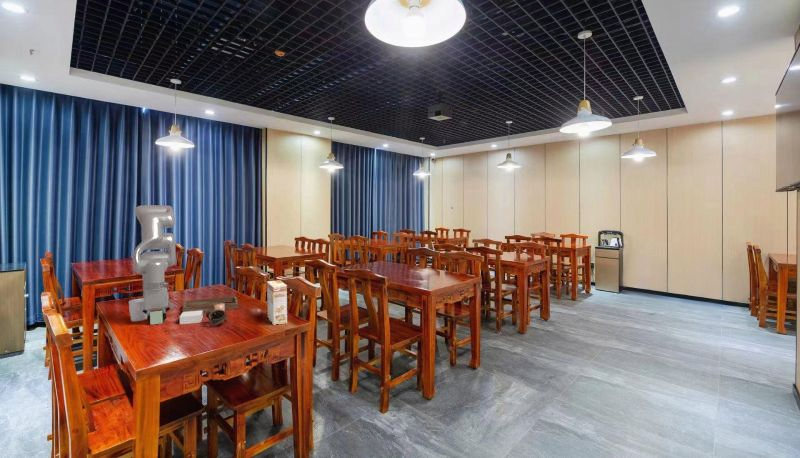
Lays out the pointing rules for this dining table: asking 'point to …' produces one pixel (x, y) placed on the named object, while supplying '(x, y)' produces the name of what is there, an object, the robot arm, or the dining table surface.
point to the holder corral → (208, 302)
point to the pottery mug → (216, 317)
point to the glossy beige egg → (219, 306)
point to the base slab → (191, 317)
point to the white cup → (136, 310)
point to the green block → (156, 316)
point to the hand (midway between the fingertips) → (157, 321)
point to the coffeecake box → (277, 302)
